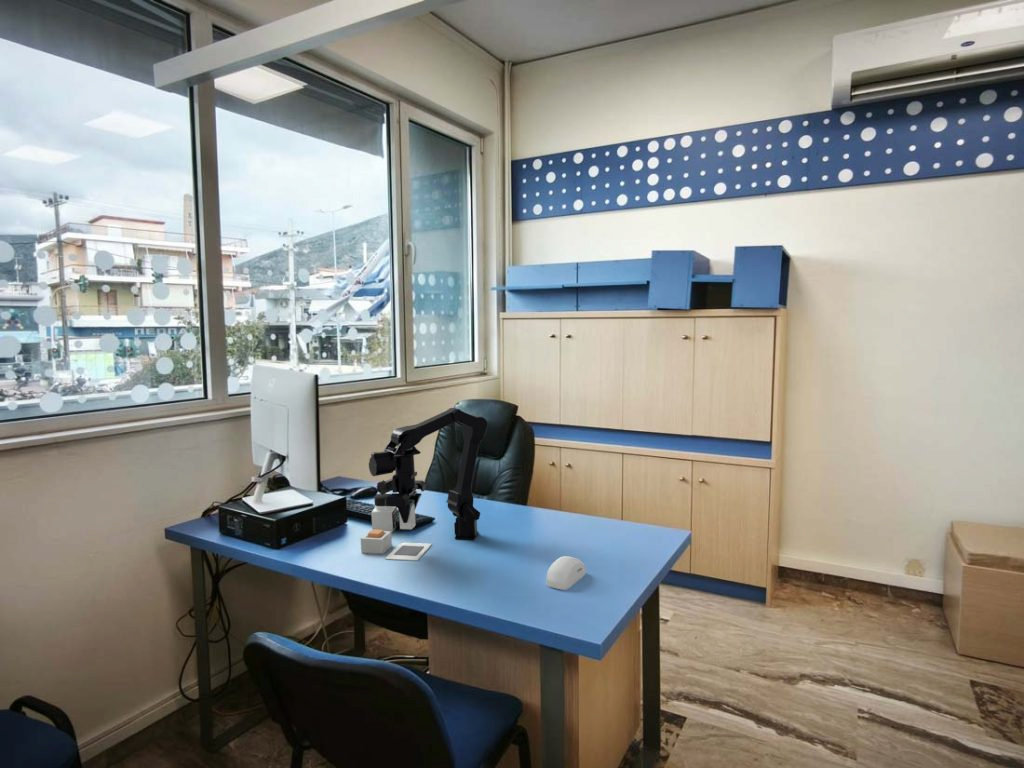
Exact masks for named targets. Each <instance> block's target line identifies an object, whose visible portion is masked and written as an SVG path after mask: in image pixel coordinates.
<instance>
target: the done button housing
mask: <svg viewBox="0 0 1024 768" xmlns="http://www.w3.org/2000/svg"><path fill="white" fill-rule="evenodd" d="M370 531H371V530H369V531H368V532H367V533H366V534H364V535H363V536H361V538H360V546H361V547H360V550H361V554H379V555H380V554H381V555H383V554H384V553H385V552H387V551H388V550H389V549H390V548H391V547H392V546H393V543H392V542H393V541H392V532H391V531H384V535H383V536H382V537H381V538H368V533H369V532H370Z"/></svg>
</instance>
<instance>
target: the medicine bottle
mask: <svg viewBox="0 0 1024 768" xmlns="http://www.w3.org/2000/svg"><path fill="white" fill-rule="evenodd" d="M390 494H391V493H389V492H387V493H384V494H383V495H381V494H380V493H378V494H375V495H374V498H373V499H374V508H373V510H372V511H371V527H372V529H371V530H373V529H379V530H384V531H391V533H393V532H395V529H396V528H397V526H396V519H397V520H398V508H397V507H392V506H385V499H386V498H387V497H388V496H389V495H390Z"/></svg>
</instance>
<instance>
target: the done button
mask: <svg viewBox="0 0 1024 768" xmlns="http://www.w3.org/2000/svg"><path fill="white" fill-rule="evenodd" d="M369 531H370V532H369ZM369 531H368V532H369V533H368V532H367V533H368V538H381V537H382V536H383V535H384V530H379V529H373V530H372V529H371V530H369Z"/></svg>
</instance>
